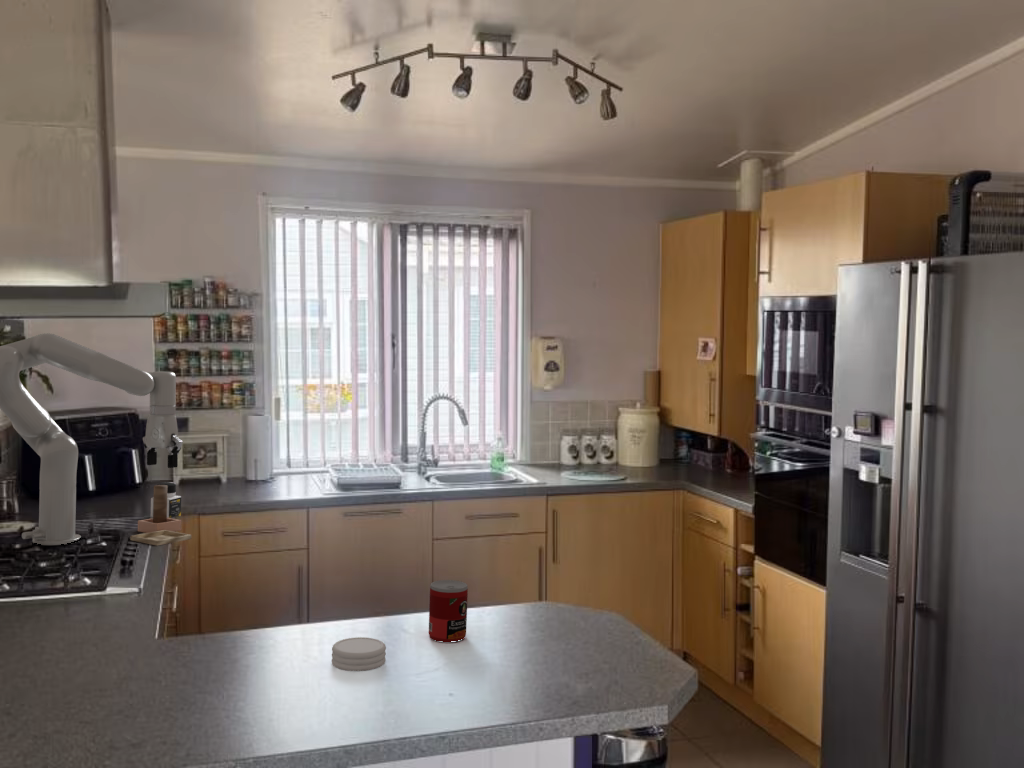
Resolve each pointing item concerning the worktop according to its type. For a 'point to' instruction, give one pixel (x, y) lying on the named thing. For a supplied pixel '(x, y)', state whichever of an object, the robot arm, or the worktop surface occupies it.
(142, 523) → the pink square box
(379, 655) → the coaster
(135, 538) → the tray
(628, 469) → the worktop surface
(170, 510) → the medicine bottle
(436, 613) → the canned food
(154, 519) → the dowel
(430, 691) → the worktop surface
